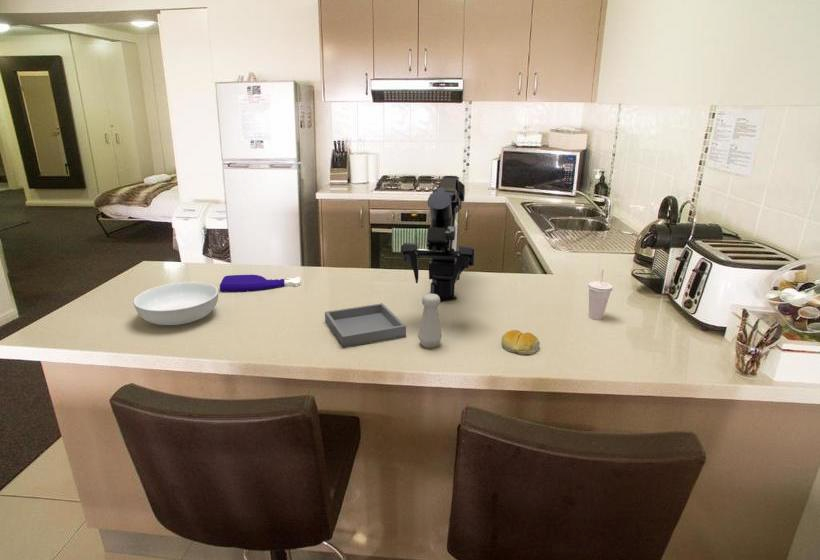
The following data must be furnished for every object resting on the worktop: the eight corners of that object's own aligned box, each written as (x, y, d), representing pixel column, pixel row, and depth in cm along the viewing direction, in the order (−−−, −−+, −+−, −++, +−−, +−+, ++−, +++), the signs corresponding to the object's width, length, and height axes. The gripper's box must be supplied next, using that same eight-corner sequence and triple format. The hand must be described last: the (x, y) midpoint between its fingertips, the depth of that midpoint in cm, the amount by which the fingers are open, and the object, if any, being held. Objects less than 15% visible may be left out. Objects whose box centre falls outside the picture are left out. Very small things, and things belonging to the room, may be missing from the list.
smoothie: (607, 314, 141) (614, 268, 137) (608, 323, 136) (615, 274, 131) (583, 311, 143) (590, 265, 139) (583, 319, 137) (590, 272, 133)
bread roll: (508, 337, 127) (509, 322, 126) (542, 346, 122) (543, 331, 121) (495, 349, 120) (496, 334, 119) (530, 359, 116) (532, 343, 114)
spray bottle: (218, 285, 152) (299, 282, 156) (223, 274, 162) (300, 272, 167) (219, 294, 153) (300, 291, 157) (224, 282, 163) (300, 280, 168)
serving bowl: (118, 326, 129) (114, 301, 127) (180, 299, 148) (177, 277, 145) (180, 340, 122) (176, 314, 120) (237, 310, 140) (234, 287, 138)
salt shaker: (439, 351, 118) (441, 300, 114) (416, 348, 120) (417, 298, 115) (442, 340, 124) (444, 292, 120) (420, 338, 125) (421, 290, 121)
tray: (382, 313, 140) (382, 303, 139) (405, 336, 126) (406, 326, 125) (325, 322, 133) (324, 311, 132) (343, 348, 119) (342, 336, 118)
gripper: (402, 212, 125) (394, 266, 118) (476, 215, 122) (472, 271, 116) (407, 235, 135) (399, 286, 128) (475, 238, 132) (471, 291, 125)
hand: (434, 283), depth 124 cm, fingers open, 9 cm apart
